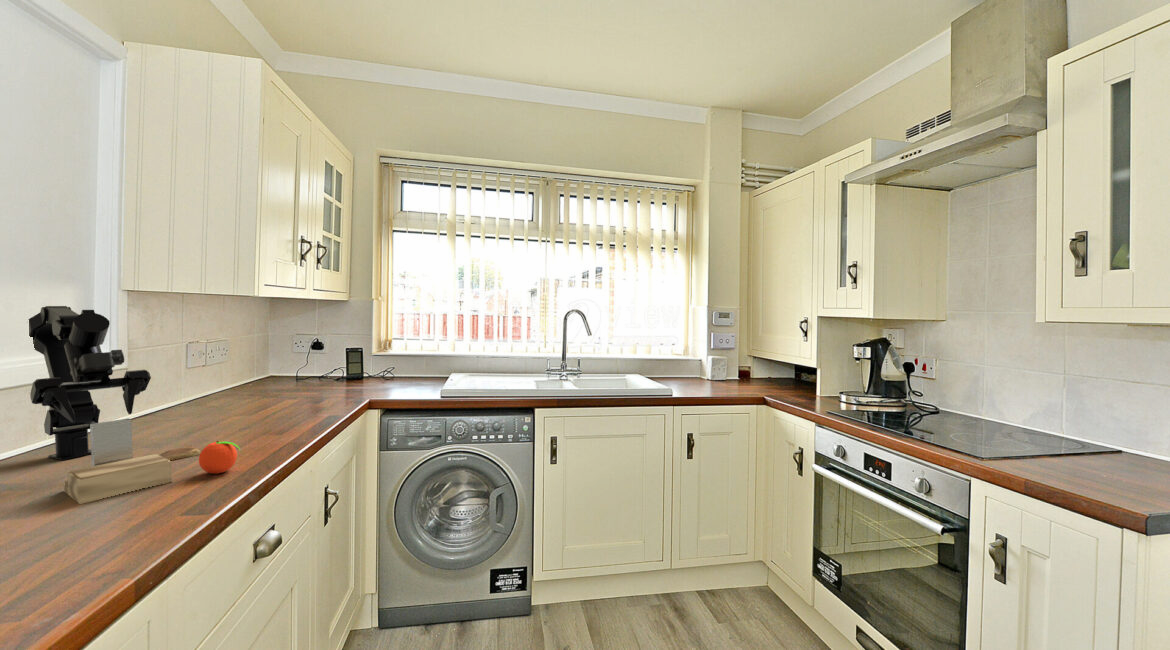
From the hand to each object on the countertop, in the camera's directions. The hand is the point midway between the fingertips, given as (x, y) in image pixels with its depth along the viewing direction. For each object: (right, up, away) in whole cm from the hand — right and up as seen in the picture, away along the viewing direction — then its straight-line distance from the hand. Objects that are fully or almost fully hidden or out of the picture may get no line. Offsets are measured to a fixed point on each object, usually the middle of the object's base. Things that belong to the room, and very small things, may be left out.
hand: (103, 417), depth 110 cm
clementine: (+24, -13, +2) cm, 27 cm away
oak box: (+9, -13, -6) cm, 17 cm away
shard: (+6, -13, +13) cm, 19 cm away
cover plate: (+6, -13, -4) cm, 15 cm away
